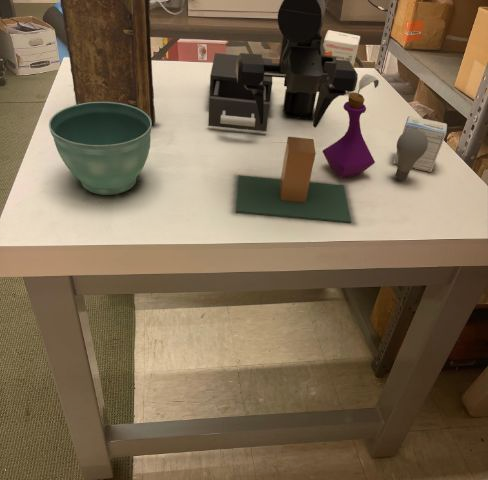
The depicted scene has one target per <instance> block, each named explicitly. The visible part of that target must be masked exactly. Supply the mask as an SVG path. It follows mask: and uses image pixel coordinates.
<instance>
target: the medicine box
mask: <svg viewBox="0 0 488 480" xmlns="http://www.w3.org/2000/svg"><path fill="white" fill-rule="evenodd" d="M410 129H418V130H420V131H422V132H423V133H424V134H425V135H426V137H427V140H428V146H427V149H426V151H425V153H424V154H423V155H422V156H421V157H420V158H419V159H418V160H417V161H416V162H415V163H414V165H413V167H412V169H416V170H418V171H419V170H420V171H424V172H428V173H432V171H433V168H434V166H435V163H436V160H437V158H438V155H439V153H440V150H441V148H442V145H443V143H444V140H445V138H446V136H447V129H448V124H447V123H445V122H441V121H436V120H432V119H426V118H422V117H417V116H412V115H408V116H407V118H406V121H405V124H404V128H403V131H402V133H401V135H402V134H403V133H404V132H405V131H407V130H410ZM393 164H394V165H397V164H398V153H397V151H396V153H395V155H394V160H393Z"/></svg>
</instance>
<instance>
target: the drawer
mask: <svg viewBox="0 0 488 480" xmlns="http://www.w3.org/2000/svg"><path fill="white" fill-rule="evenodd" d="M263 85H264V84H263ZM208 99H209V100H208V121H207V125H208V127H216V128H225V129H236V130H244V131H245V130H246V131H256V132H266V133H267V130H268V129H267V128H268V120H269V112H270V106H271V105H270V104H271V102H270V103H269V102H266V85H264V119H263V125H260V121H259V115H258V110H257V105H256V101H255V98H254V95H253V92H252V90H247V89H246V88H245V85H241V84H239V83H237V82H235V81H226V80H216V85H215V90H214V96H210V95H209V98H208Z"/></svg>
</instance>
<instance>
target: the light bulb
mask: <svg viewBox="0 0 488 480" xmlns="http://www.w3.org/2000/svg"><path fill="white" fill-rule="evenodd" d="M402 133H403V132H402ZM402 133H401V135H399V137H398V139H397V142H396V152H397V153H398V164H396V171H395V175H394V176H395V178H396V179H397V180H398V181H403V180H404V181H405V180H407V178H408V176H409V174H410V171H412V169H413V168H412V167H413V165H414V163H415V162H416V161H417V160H418V159H419V158H420V157H421V156H422V155H423V154H424V153H425V151H426V149H427V146H428V140H427V137H426V135H425V134H424V133H423V132H422V131H420V130H418V129H410V130H407V131H405V132H404V133H403V134H402Z"/></svg>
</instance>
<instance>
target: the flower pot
mask: <svg viewBox="0 0 488 480" xmlns="http://www.w3.org/2000/svg"><path fill="white" fill-rule="evenodd" d="M152 127H153V125H152V121H151V119H150V117H149V116H148V115H147V114H146V113H145V112H143V111H142V110H140V109H138V108H136V107H133V106H130V105H126V104H121V103H114V102H89V103H83V104H78V105H76V104H74V105H71V106H68V107H64V108H63V109H61V110H59V111H57V112H56V113H54V114H53V115H52V116H51V117H50V119H49V122H48V128H49V131H50V134H51V136H52V137H53V142H54V145H55V147H56V150H57V152H58V154H59V157H60V158H61V160H62V162H63V163H64V165H65V166H66V168H67V169H68V170H69V172H70V173H71V174H72V175H73V176H74V177H76V178H77V179H78V180H79V181H80V184H81V186H82V188H84V189H85V190H86V191H88V192H90V193H93V194H96V195H103V196H112V195H118V194H123V193H125V192H127V191H129V190H130V189H132V188H133V187H135V185H136V183H137V177H138V176H139V175H140V173H141V172H142V170H143V169H144V167H145V165H146V162H147V159H148V157H149V153H150V148H151V137H152V136H151V134H152V130H153V129H152Z"/></svg>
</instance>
